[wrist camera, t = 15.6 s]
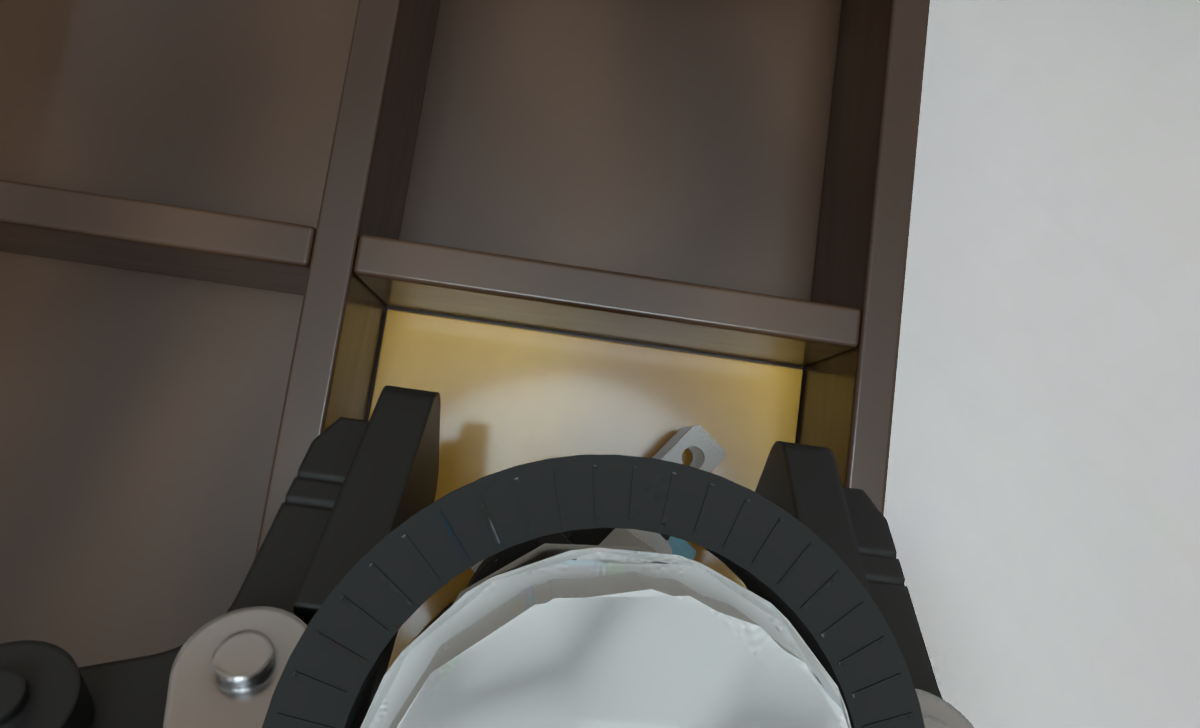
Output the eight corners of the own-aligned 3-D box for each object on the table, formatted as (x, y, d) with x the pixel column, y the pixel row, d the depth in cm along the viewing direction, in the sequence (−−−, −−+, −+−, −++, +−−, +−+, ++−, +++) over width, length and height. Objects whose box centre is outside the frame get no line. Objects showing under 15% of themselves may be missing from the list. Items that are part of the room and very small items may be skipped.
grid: (-222, 716, 15) (-462, 797, 11) (11, -200, 17) (-127, -370, 14) (780, 833, 16) (847, 941, 12) (869, -51, 18) (947, -175, 15)
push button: (601, 344, 16) (750, 172, 6) (791, 538, 16) (1267, 694, 6) (345, 595, 15) (1, 901, 5) (549, 803, 15) (624, 1528, 5)
